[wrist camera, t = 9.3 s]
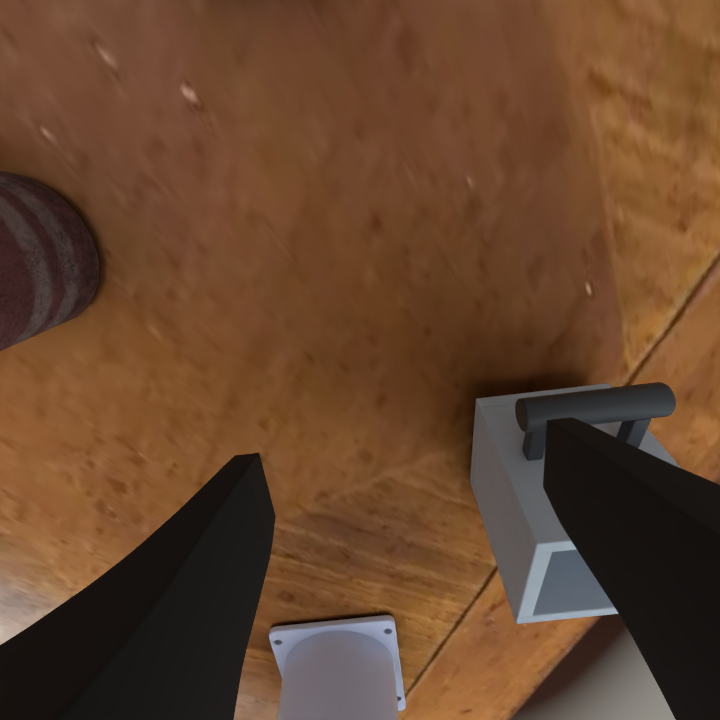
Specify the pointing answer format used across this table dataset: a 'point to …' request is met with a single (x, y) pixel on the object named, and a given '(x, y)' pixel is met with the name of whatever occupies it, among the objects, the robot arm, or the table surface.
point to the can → (41, 260)
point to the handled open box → (528, 498)
